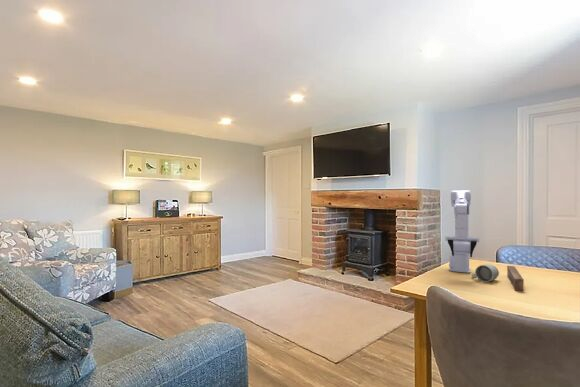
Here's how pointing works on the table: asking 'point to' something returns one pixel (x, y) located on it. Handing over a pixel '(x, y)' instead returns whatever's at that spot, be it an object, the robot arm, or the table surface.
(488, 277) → the ceramic mug
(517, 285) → the walnut board
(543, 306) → the table surface
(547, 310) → the table surface
